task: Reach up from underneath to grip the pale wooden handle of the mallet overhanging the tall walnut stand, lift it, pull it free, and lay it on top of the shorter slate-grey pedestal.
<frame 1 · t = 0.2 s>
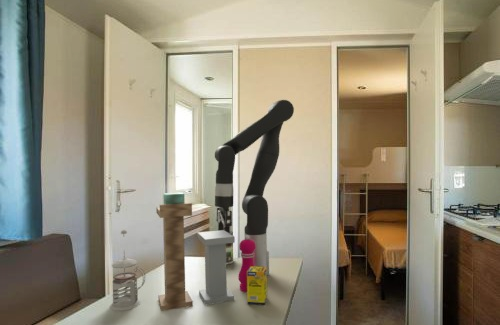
hand: (223, 234, 141), 18 cm above the table, tool pointing down, fingers open, 8 cm apart
walnut stand: (175, 302, 118), on the table
slate pedestal: (216, 297, 121), on the table
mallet: (172, 207, 120), point 32 cm above the table, touching walnut stand
french press: (127, 304, 117), on the table
supplement box: (257, 302, 117), on the table
pepper mill: (248, 289, 129), on the table
coffee can: (222, 262, 166), on the table
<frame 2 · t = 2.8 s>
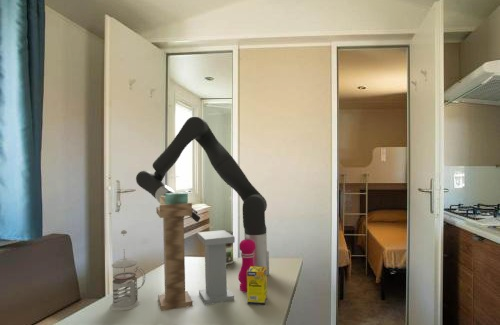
hand: (191, 218, 133), 26 cm above the table, tool tilted 65°, fingers open, 8 cm apart
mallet: (173, 207, 120), point 32 cm above the table, touching hand
everything else where it was.
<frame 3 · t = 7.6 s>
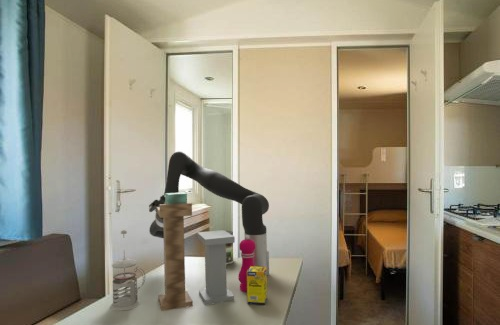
hand: (169, 196, 127), 35 cm above the table, tool pointing upward, fingers closed on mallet, 3 cm apart
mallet: (173, 207, 120), point 32 cm above the table, touching gripper, walnut stand
everything else where it was.
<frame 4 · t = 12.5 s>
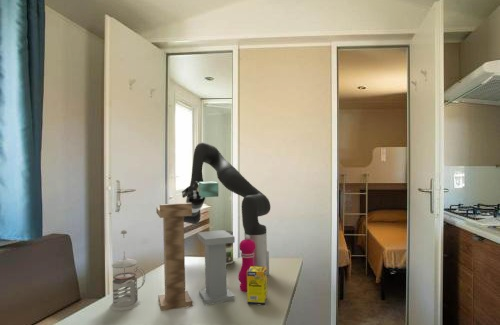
hand: (201, 183, 140), 39 cm above the table, tool pointing upward, fingers closed on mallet, 3 cm apart
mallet: (205, 194, 133), point 35 cm above the table, touching gripper
everything else where it was.
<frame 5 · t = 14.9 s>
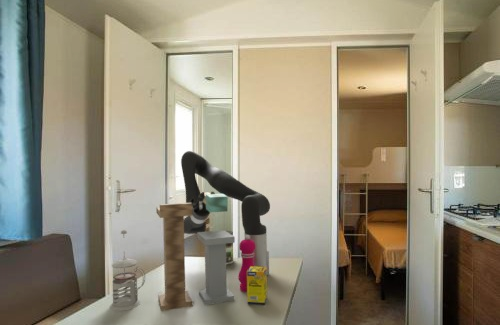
hand: (208, 194, 130), 35 cm above the table, tool pointing upward, fingers closed on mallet, 3 cm apart
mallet: (213, 207, 123), point 31 cm above the table, tilted 6°, touching gripper
everything else where it was.
when the fingers open (27 cm above the table, at t = 17.1 s): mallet stays where it is, resting on slate pedestal.
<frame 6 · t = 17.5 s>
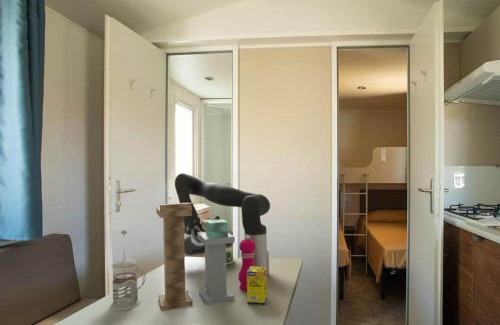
hand: (208, 218, 130), 26 cm above the table, tool pointing upward, fingers open, 6 cm apart
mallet: (213, 233, 123), point 22 cm above the table, touching slate pedestal
everything else where it was.
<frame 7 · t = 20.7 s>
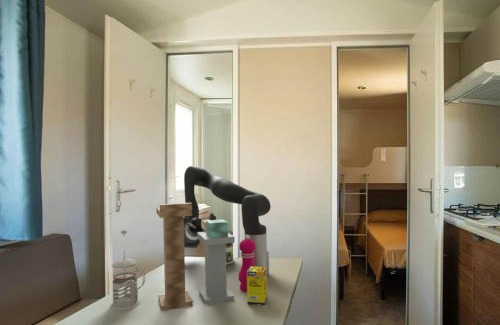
hand: (202, 215, 142), 26 cm above the table, tool pointing upward, fingers open, 8 cm apart
nothing on the table moved.
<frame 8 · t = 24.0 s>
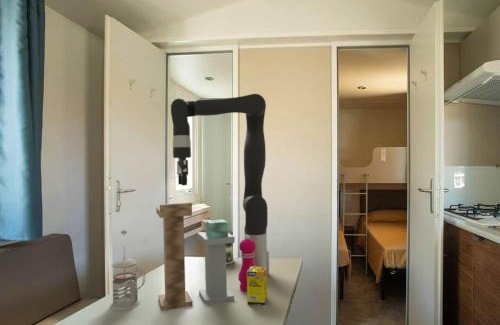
hand: (182, 184, 148), 38 cm above the table, tool pointing down, fingers open, 8 cm apart
nothing on the table moved.
at the end: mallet inside the target area on the slate pedestal (0.1 cm from its centre), point 22.0 cm above the slate pedestal's base; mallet tilted 0°; the gripper is holding nothing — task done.
